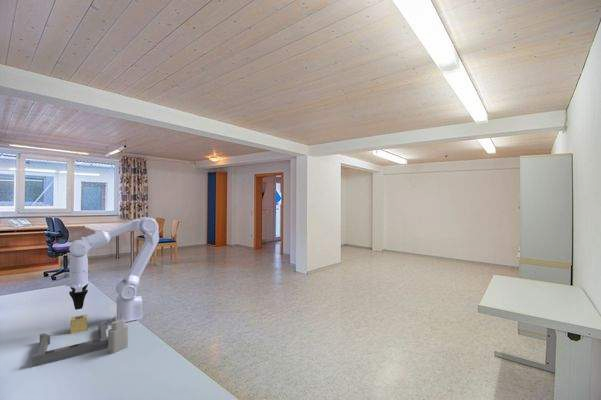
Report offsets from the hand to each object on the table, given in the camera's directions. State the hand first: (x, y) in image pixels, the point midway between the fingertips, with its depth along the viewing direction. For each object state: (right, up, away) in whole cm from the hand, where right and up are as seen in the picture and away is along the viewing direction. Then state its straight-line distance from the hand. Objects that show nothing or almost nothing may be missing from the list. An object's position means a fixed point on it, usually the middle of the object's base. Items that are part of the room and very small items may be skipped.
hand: (79, 306), depth 113 cm
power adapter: (+24, -10, -14) cm, 30 cm away
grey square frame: (+7, -9, -12) cm, 17 cm away
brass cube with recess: (0, -10, 0) cm, 10 cm away
